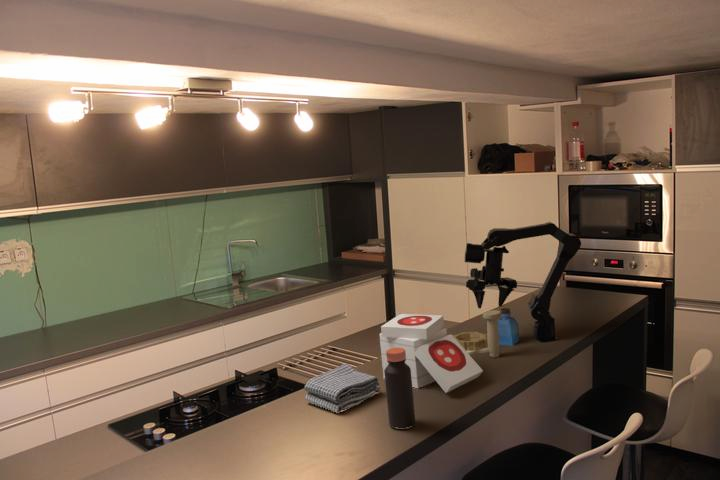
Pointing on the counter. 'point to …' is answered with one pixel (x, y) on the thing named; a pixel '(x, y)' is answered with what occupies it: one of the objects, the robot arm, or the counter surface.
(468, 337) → the gear board
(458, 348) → the pizza boxes
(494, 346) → the handle
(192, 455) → the counter surface
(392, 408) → the vinegar
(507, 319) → the perfume bottle
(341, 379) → the towel
